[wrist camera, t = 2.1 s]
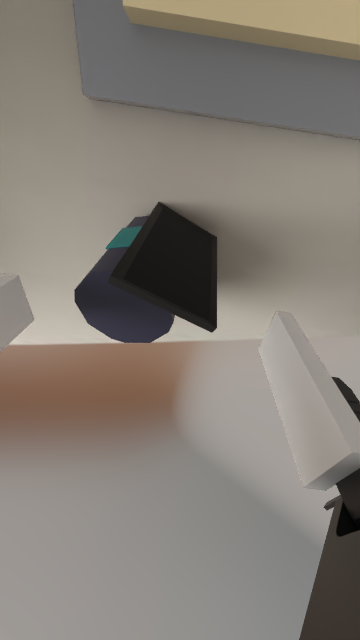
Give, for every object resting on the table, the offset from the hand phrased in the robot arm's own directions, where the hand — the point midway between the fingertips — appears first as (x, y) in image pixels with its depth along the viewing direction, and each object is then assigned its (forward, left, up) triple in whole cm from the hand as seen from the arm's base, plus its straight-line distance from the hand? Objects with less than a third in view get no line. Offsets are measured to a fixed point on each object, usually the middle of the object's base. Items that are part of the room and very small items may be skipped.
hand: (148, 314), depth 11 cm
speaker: (0, 0, -9) cm, 9 cm away
